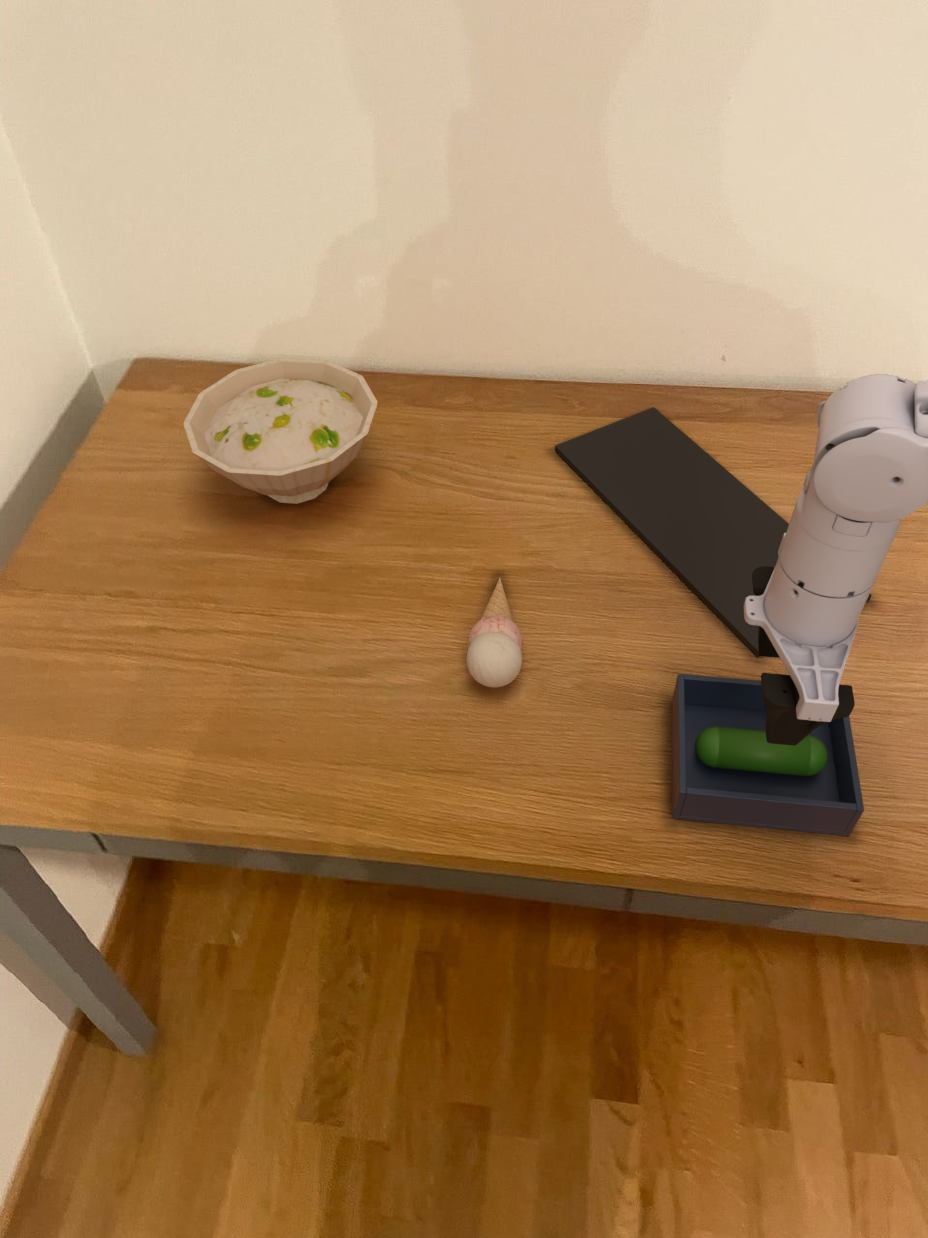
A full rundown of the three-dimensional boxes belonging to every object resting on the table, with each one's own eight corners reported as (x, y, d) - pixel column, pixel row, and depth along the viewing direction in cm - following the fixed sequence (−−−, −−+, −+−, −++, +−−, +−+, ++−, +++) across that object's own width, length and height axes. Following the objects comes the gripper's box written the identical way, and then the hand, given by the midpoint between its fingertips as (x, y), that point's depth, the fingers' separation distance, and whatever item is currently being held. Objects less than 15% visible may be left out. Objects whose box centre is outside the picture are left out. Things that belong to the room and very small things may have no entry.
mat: (869, 601, 84) (872, 595, 84) (757, 657, 81) (759, 651, 80) (653, 412, 104) (653, 406, 103) (554, 451, 100) (554, 445, 99)
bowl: (381, 416, 105) (371, 339, 98) (393, 533, 93) (382, 454, 85) (211, 434, 104) (187, 357, 97) (199, 555, 92) (171, 477, 84)
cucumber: (819, 751, 74) (830, 728, 71) (824, 786, 71) (835, 764, 69) (691, 739, 75) (697, 716, 72) (692, 773, 73) (698, 751, 70)
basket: (831, 716, 76) (844, 687, 73) (849, 836, 69) (864, 810, 66) (671, 702, 78) (677, 673, 75) (672, 818, 71) (679, 792, 68)
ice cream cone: (489, 603, 90) (481, 706, 78) (466, 567, 88) (454, 666, 76) (533, 586, 88) (531, 688, 76) (510, 548, 86) (505, 647, 74)
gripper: (752, 480, 61) (716, 614, 72) (769, 650, 52) (724, 776, 62) (863, 488, 60) (810, 622, 71) (900, 661, 51) (833, 787, 61)
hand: (777, 695), depth 66 cm, fingers open, 7 cm apart
